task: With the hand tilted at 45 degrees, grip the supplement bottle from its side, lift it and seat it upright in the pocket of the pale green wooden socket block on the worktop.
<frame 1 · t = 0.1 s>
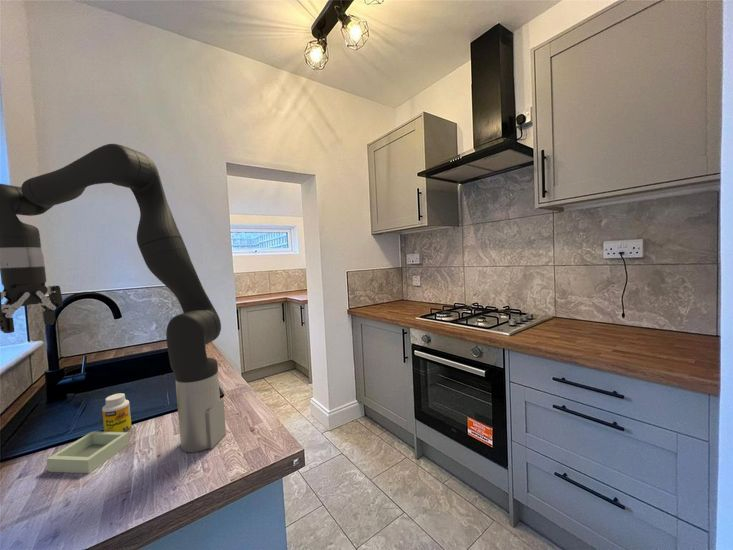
hand: (30, 328, 77), 29 cm above the countertop, tool pointing down, fingers open, 8 cm apart
socket block: (91, 456, 70), on the countertop
supplement bottle: (118, 434, 79), on the countertop
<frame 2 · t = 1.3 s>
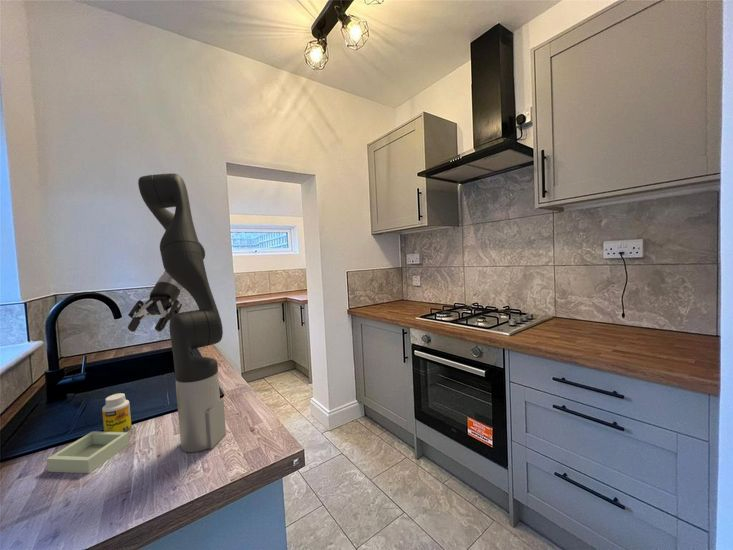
hand: (144, 330, 90), 25 cm above the countertop, tool tilted 45°, fingers open, 8 cm apart
nothing on the countertop moved.
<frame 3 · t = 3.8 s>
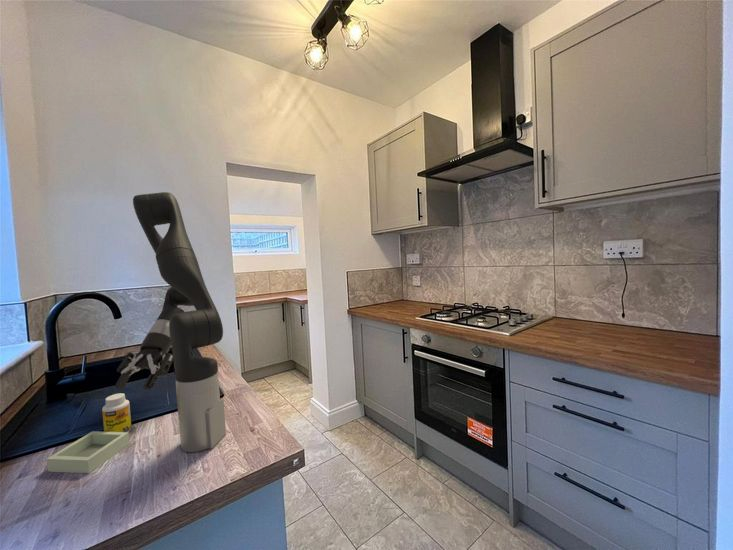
hand: (132, 388, 84), 10 cm above the countertop, tool tilted 45°, fingers open, 8 cm apart
nothing on the countertop moved.
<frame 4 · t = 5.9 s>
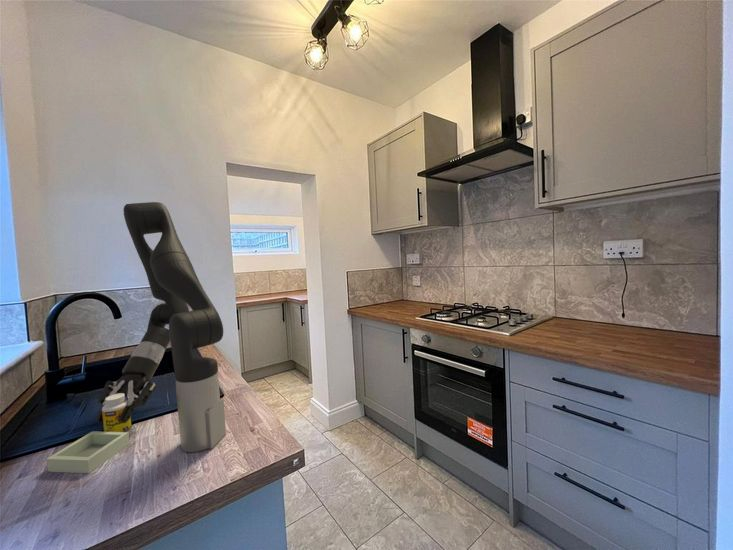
hand: (110, 421, 77), 4 cm above the countertop, tool tilted 45°, fingers closed on supplement bottle, 5 cm apart
supplement bottle: (118, 434, 79), on the countertop, touching gripper
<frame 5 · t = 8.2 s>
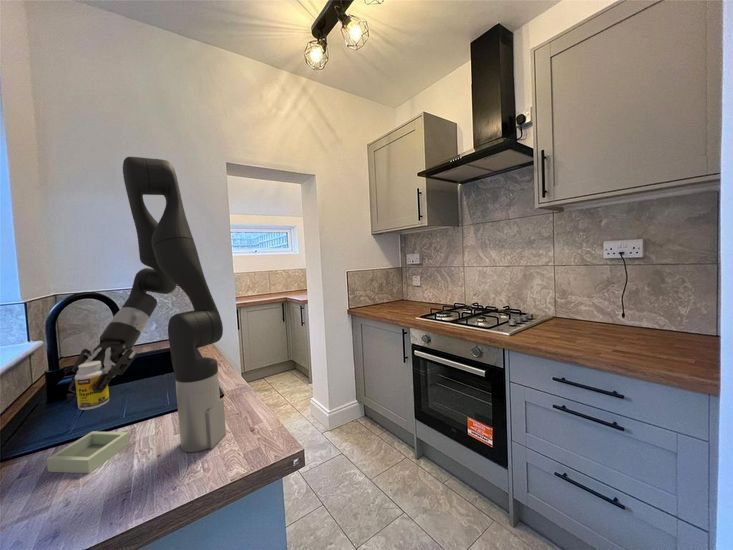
hand: (84, 391, 69), 16 cm above the countertop, tool tilted 45°, fingers closed on supplement bottle, 5 cm apart
supplement bottle: (94, 405, 71), point 11 cm above the countertop, touching gripper
when the fingers open (7 cm above the countertop, at t = 10.7 s): supplement bottle drops 2 cm, resting on socket block.
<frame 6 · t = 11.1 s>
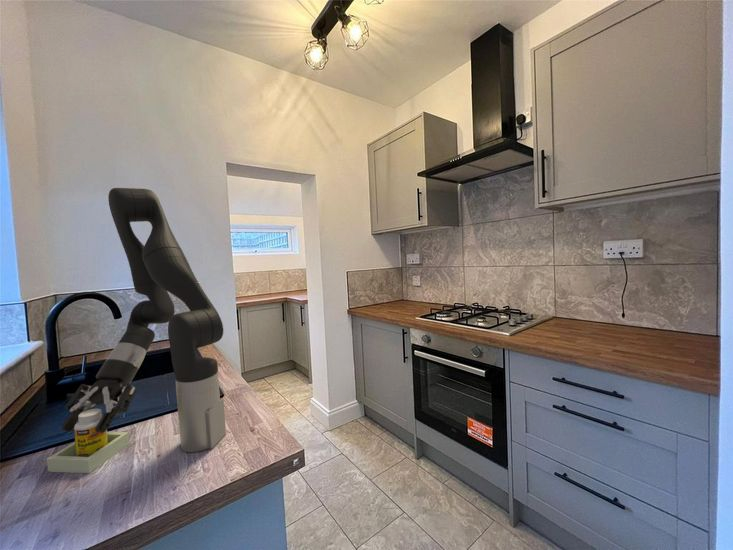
hand: (82, 431, 68), 7 cm above the countertop, tool tilted 45°, fingers open, 8 cm apart
supplement bottle: (93, 454, 70), resting on socket block
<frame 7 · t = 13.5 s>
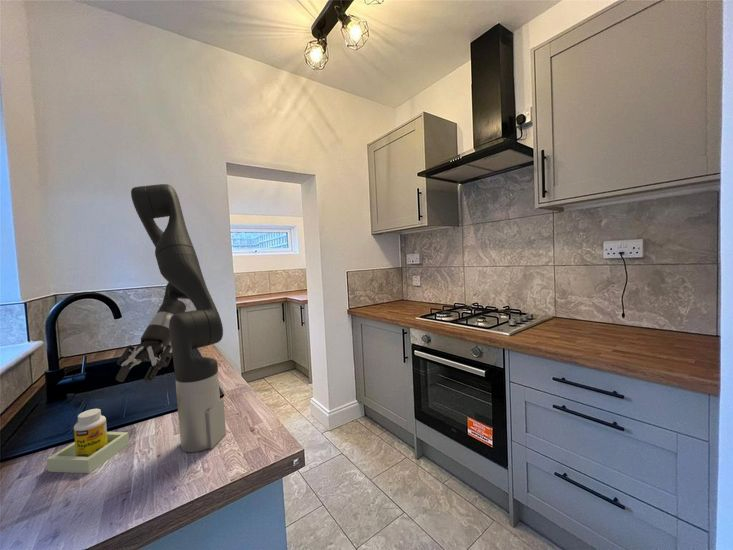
hand: (133, 380, 82), 13 cm above the countertop, tool tilted 45°, fingers open, 8 cm apart
nothing on the countertop moved.
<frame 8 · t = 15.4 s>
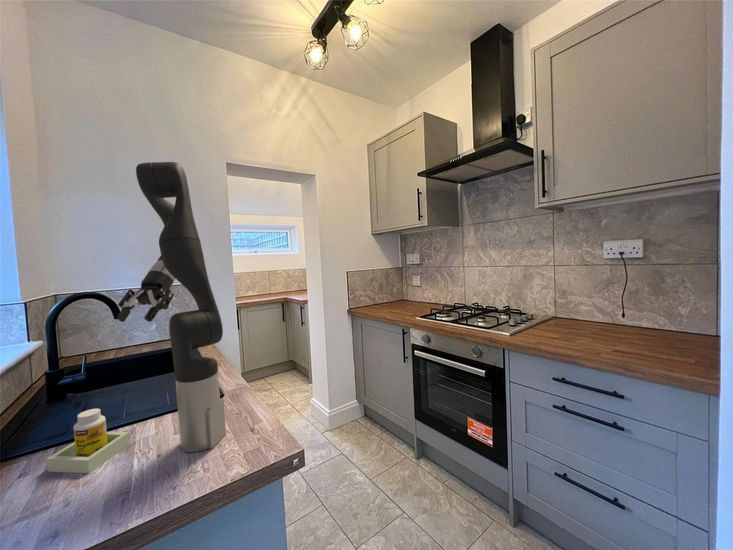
hand: (133, 320, 86), 29 cm above the countertop, tool tilted 45°, fingers open, 8 cm apart
nothing on the countertop moved.
at the end: supplement bottle 0.3 cm off-centre on the socket block, point 0.2 cm above the socket block's base; supplement bottle tilted 1°; the gripper is holding nothing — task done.
